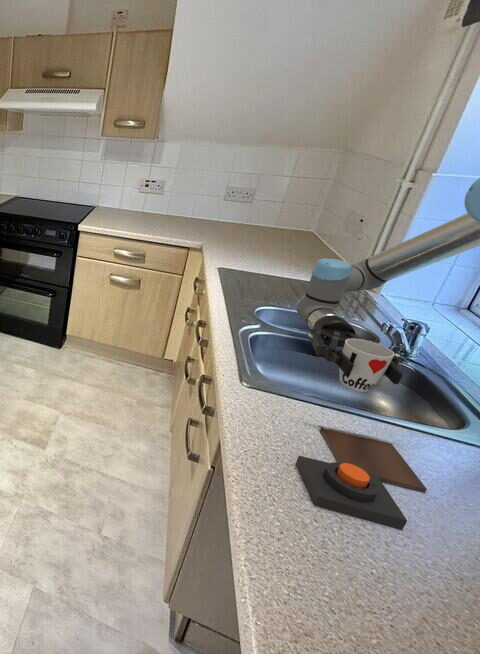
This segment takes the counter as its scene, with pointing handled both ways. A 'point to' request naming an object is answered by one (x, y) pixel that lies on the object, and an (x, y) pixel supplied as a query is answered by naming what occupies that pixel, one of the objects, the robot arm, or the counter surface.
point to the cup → (365, 364)
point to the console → (349, 494)
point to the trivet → (373, 458)
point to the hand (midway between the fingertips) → (373, 374)
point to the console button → (353, 475)
